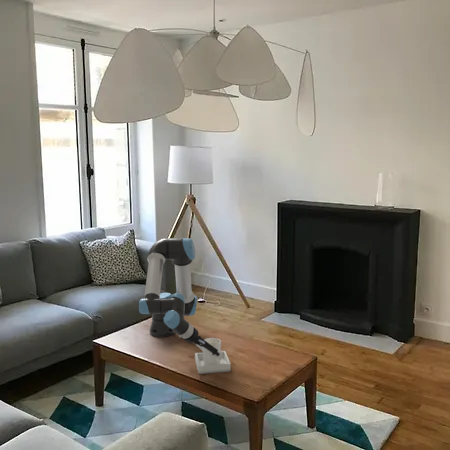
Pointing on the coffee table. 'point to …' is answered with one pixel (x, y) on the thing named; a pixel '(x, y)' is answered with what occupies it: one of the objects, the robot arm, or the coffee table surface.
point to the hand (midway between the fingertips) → (212, 353)
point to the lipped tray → (213, 368)
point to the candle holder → (207, 355)
